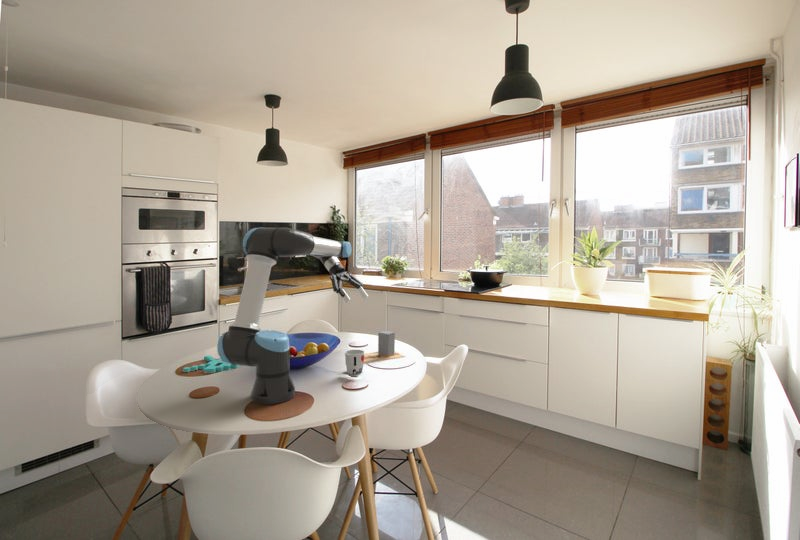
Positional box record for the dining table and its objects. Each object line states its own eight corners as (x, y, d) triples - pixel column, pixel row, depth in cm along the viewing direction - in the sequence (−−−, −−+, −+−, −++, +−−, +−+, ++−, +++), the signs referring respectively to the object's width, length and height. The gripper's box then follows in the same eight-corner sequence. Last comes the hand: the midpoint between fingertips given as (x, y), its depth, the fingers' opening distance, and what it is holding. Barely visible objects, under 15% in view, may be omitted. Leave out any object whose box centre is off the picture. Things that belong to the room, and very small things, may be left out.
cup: (352, 380, 164) (352, 356, 163) (341, 375, 170) (341, 351, 169) (368, 375, 169) (368, 352, 169) (357, 371, 176) (357, 348, 175)
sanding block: (394, 354, 195) (394, 332, 194) (388, 357, 191) (388, 334, 190) (384, 352, 198) (384, 330, 198) (378, 355, 194) (378, 332, 193)
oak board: (405, 359, 192) (405, 356, 192) (359, 367, 180) (359, 364, 180) (391, 352, 204) (391, 349, 204) (347, 359, 192) (347, 356, 192)
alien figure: (183, 373, 172) (229, 374, 172) (182, 368, 172) (229, 369, 172) (206, 360, 192) (248, 360, 192) (206, 355, 192) (248, 355, 192)
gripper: (347, 271, 217) (369, 301, 210) (313, 274, 197) (336, 307, 189) (354, 261, 214) (377, 291, 207) (320, 263, 193) (344, 297, 186)
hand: (357, 299), depth 198 cm, fingers open, 13 cm apart
